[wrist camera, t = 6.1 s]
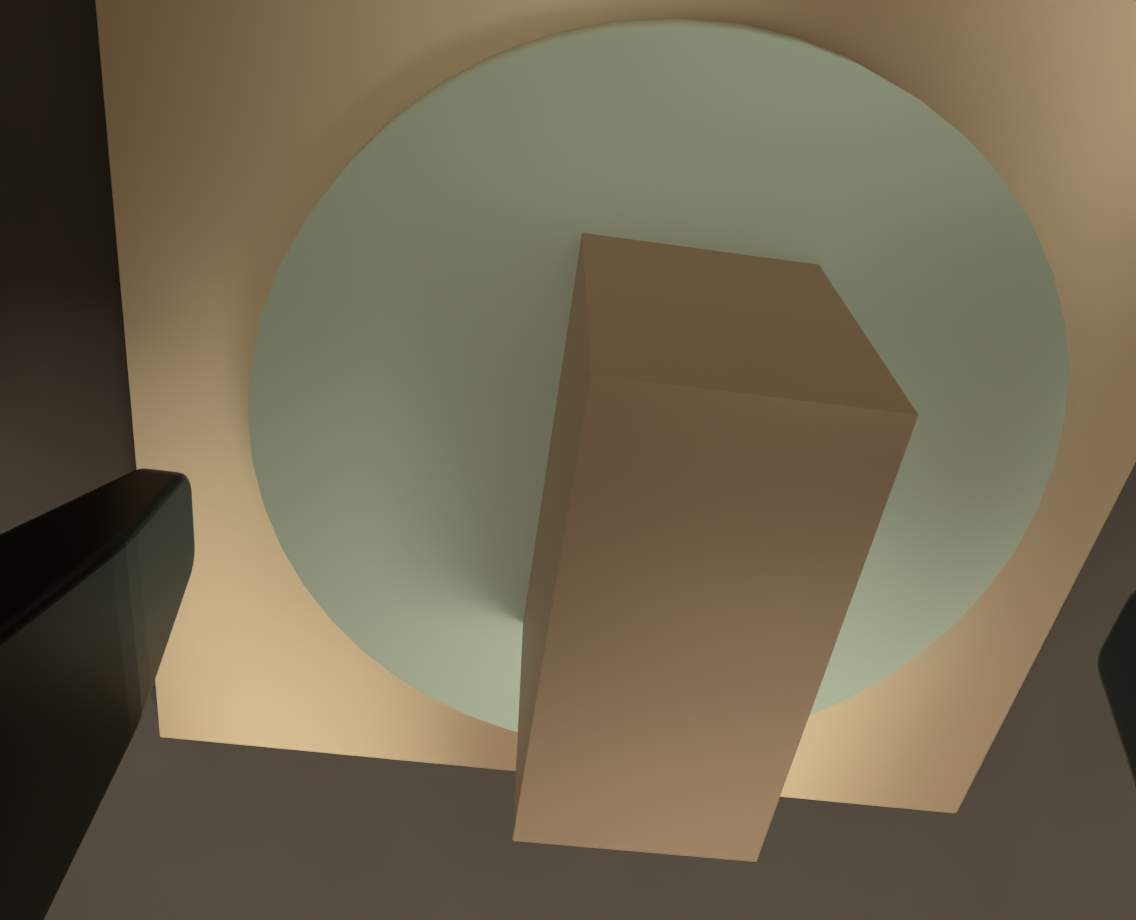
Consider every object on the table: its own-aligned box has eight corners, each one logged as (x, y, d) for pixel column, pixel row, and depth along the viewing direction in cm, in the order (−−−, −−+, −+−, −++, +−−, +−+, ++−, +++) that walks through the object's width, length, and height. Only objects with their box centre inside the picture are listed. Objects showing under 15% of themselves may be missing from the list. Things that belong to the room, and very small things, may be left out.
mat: (1353, -57, 10) (1398, -52, 9) (942, 782, 16) (955, 813, 15) (99, -278, 9) (70, -287, 8) (174, 706, 15) (160, 737, 14)
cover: (1176, 89, 10) (1505, 205, 6) (897, 733, 14) (1005, 1003, 11) (259, -51, 9) (79, -6, 6) (271, 672, 14) (174, 940, 10)
